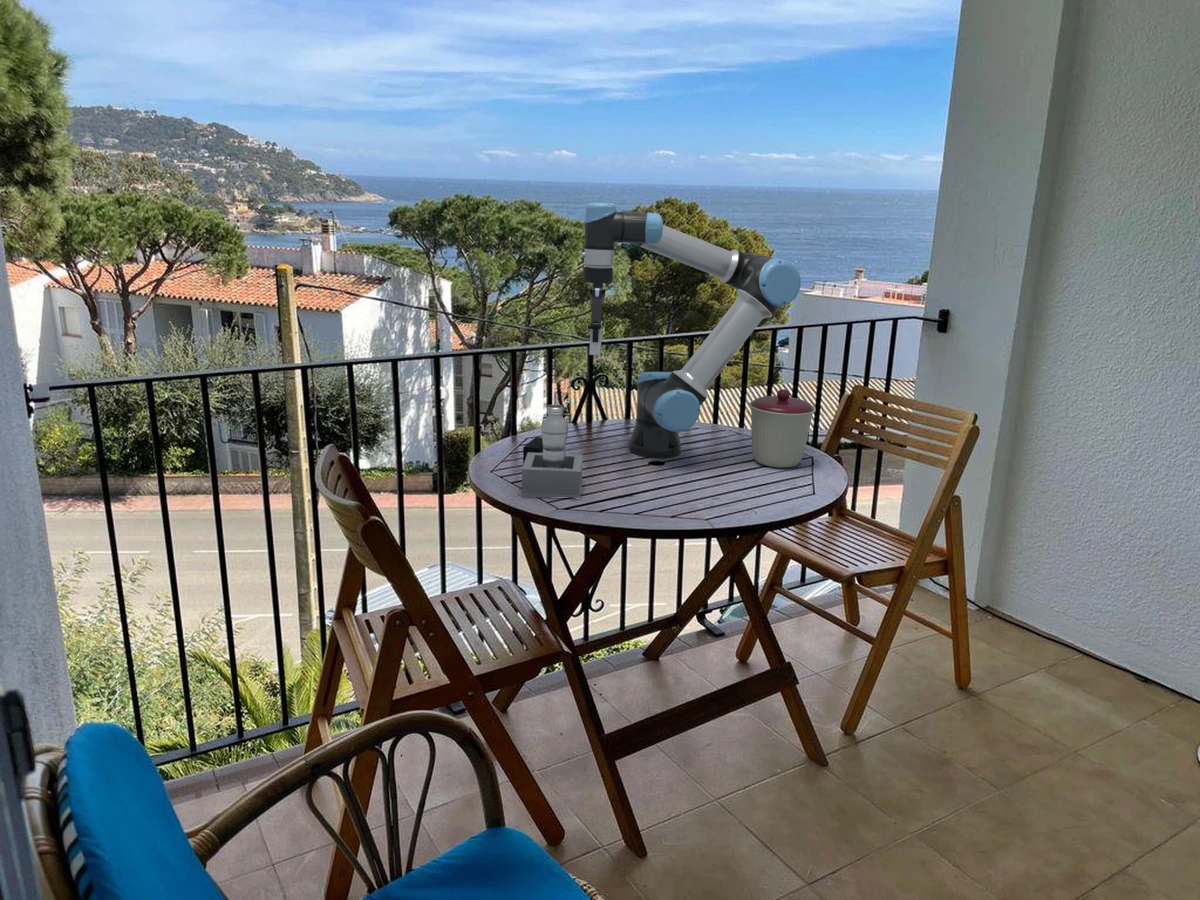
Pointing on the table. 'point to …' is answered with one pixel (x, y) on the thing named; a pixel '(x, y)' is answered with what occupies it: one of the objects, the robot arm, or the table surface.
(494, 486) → the table surface
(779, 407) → the canister
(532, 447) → the digital camera
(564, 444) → the plastic bottle
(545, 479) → the well
